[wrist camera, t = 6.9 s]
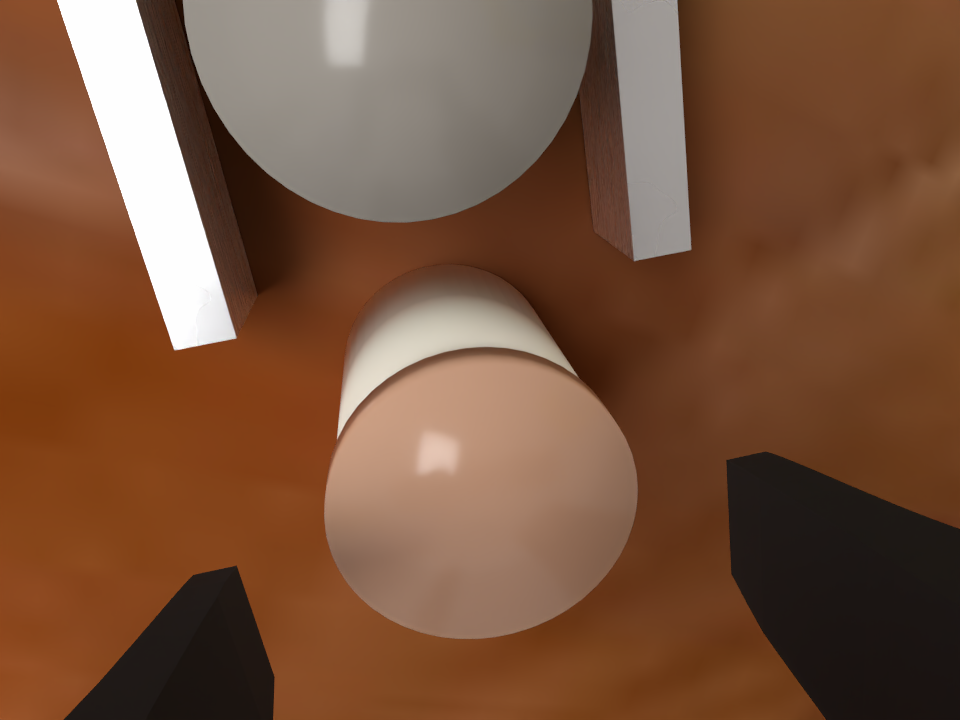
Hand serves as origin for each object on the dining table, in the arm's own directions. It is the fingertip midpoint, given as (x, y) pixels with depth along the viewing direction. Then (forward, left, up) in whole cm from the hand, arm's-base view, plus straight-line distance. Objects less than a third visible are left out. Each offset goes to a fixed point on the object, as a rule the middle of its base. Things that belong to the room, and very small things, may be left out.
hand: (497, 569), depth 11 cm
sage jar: (+7, 0, -8) cm, 11 cm away
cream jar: (0, 0, -8) cm, 8 cm away
